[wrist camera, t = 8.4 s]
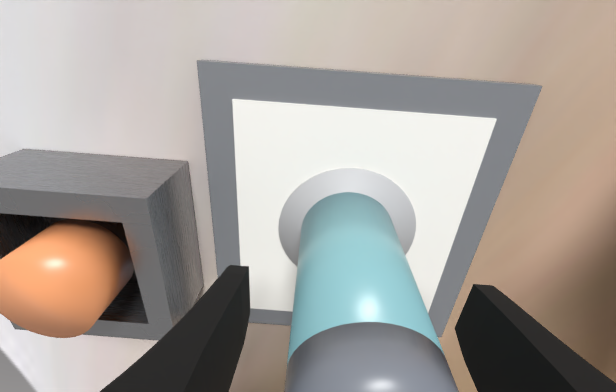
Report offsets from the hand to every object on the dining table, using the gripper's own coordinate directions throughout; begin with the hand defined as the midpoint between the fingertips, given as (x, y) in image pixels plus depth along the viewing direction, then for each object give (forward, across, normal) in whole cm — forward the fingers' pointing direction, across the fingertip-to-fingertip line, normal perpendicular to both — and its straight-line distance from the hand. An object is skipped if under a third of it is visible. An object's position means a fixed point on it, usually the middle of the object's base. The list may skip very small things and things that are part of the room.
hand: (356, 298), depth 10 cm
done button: (+2, +11, +1) cm, 11 cm away
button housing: (+4, +11, +1) cm, 12 cm away
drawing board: (+4, 0, 0) cm, 5 cm away
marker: (+4, 0, 0) cm, 4 cm away
